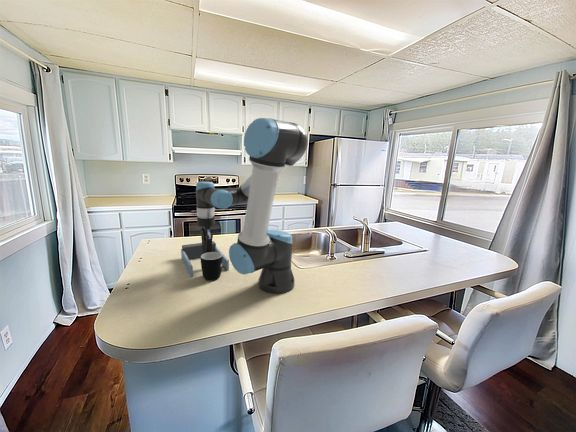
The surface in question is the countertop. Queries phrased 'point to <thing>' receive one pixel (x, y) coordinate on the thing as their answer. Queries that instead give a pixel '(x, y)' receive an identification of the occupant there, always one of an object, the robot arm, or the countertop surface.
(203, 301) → the countertop surface
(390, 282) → the countertop surface
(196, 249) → the trap block
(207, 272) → the mug
